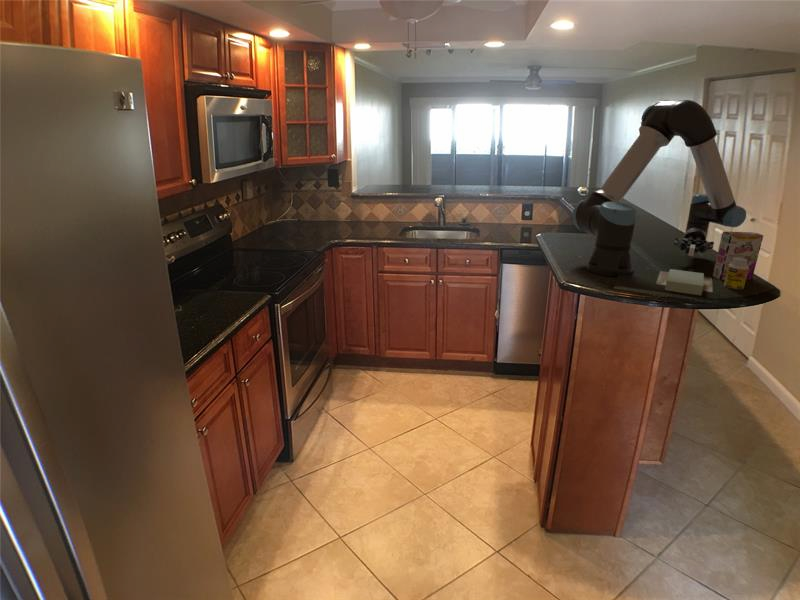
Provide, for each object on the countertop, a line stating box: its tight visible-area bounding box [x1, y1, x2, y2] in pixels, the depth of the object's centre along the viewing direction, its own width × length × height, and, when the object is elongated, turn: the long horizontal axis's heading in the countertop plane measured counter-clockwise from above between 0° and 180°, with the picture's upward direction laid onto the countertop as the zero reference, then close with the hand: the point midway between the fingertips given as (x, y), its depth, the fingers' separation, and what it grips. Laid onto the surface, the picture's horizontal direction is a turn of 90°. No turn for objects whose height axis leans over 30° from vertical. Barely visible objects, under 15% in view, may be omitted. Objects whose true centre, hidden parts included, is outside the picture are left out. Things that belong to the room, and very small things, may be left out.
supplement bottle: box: [723, 258, 749, 291], centre depth 170 cm, size 6×6×10 cm
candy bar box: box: [712, 231, 764, 281], centre depth 180 cm, size 11×5×16 cm, turn 92°
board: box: [655, 270, 714, 293], centre depth 177 cm, size 16×18×1 cm
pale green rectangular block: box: [664, 268, 705, 296], centre depth 171 cm, size 10×3×16 cm
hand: (691, 252), depth 183 cm, fingers closed
